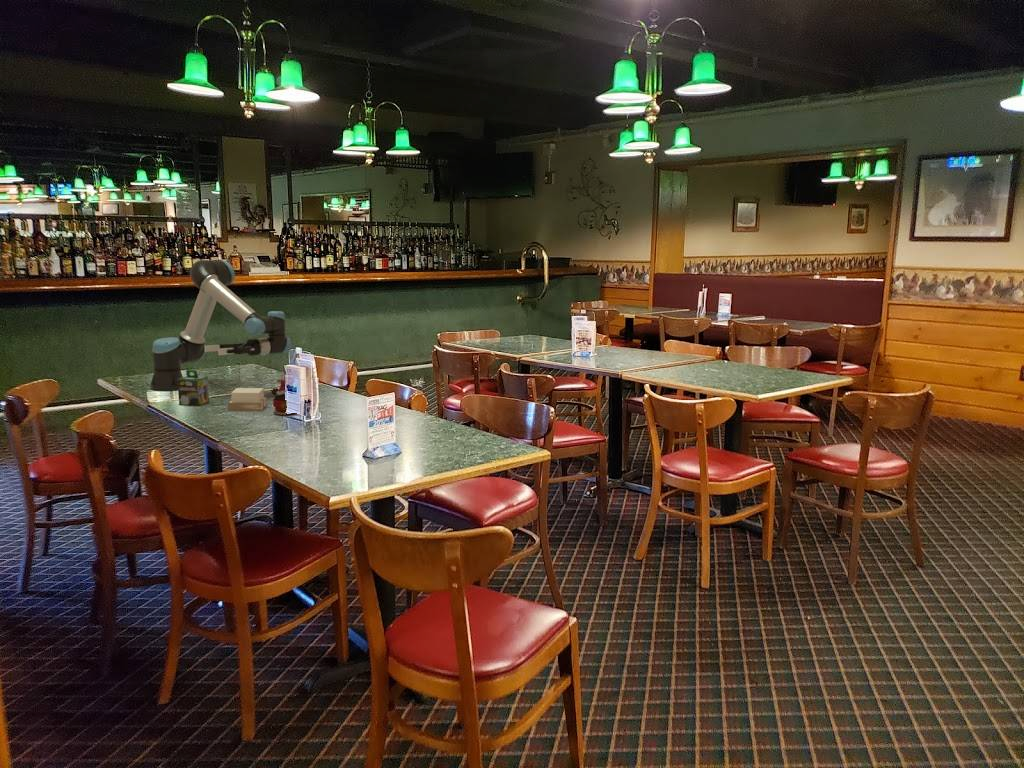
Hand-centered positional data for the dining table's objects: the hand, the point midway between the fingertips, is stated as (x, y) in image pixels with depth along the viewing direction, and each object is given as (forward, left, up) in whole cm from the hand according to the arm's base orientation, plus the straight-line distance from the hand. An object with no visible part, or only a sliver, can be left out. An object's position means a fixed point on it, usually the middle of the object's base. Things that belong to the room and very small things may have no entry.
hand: (211, 350), depth 321 cm
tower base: (+14, +17, -23) cm, 32 cm away
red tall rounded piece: (+25, +34, -23) cm, 48 cm away
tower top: (+13, +17, -19) cm, 29 cm away
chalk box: (+6, -7, -23) cm, 24 cm away
